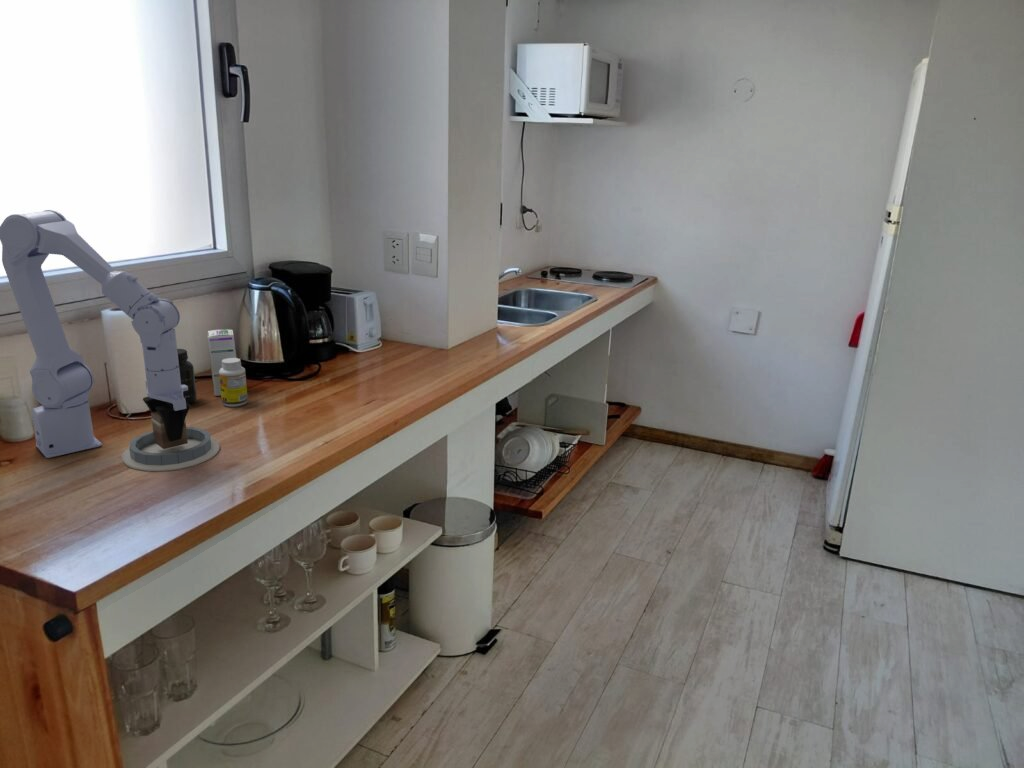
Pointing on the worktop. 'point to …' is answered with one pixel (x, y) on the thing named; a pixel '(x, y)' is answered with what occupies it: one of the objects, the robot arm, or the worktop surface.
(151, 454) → the round tray
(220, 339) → the syrup box
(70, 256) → the robot arm
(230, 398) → the supplement bottle
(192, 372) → the supplement bottle
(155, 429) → the walnut bead block
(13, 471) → the worktop surface
